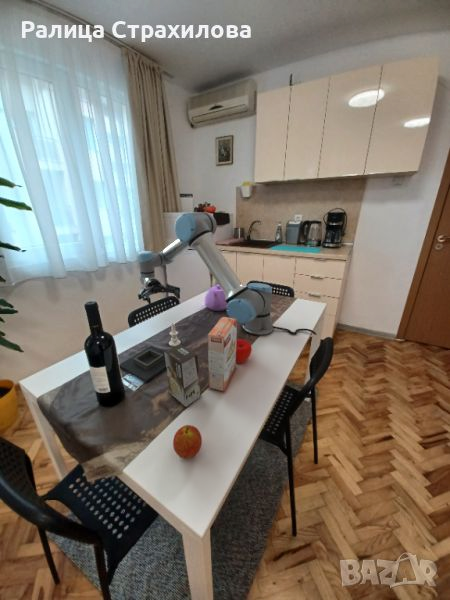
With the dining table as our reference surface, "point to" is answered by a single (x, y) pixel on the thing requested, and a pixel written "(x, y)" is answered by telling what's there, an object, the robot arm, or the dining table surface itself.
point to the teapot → (216, 299)
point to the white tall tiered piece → (174, 336)
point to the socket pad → (146, 364)
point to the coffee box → (183, 374)
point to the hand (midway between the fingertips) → (164, 298)
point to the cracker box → (222, 352)
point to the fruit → (187, 441)
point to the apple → (242, 350)
